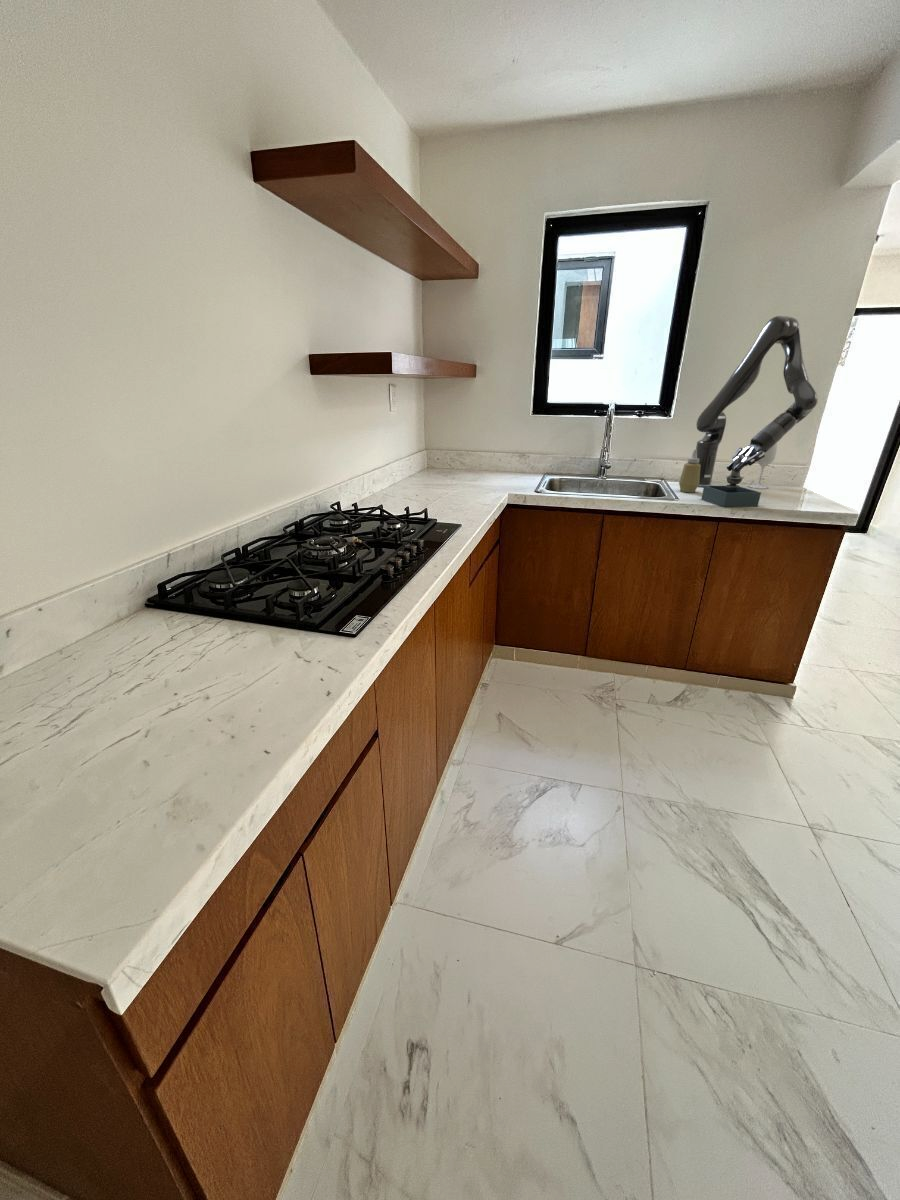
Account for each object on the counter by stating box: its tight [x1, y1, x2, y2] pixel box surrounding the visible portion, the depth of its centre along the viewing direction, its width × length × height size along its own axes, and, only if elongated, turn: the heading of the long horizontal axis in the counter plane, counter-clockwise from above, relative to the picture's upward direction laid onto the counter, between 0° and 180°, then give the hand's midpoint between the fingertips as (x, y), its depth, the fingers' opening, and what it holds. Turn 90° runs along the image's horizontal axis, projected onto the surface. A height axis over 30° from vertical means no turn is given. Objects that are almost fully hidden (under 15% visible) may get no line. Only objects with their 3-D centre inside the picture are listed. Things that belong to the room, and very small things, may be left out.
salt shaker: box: [725, 456, 744, 488], centre depth 196 cm, size 6×6×12 cm
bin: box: [701, 485, 762, 508], centre depth 200 cm, size 15×14×6 cm
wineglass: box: [749, 442, 778, 490], centre depth 230 cm, size 8×8×21 cm
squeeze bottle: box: [678, 449, 701, 494], centre depth 219 cm, size 8×8×18 cm
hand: (731, 470), depth 196 cm, fingers closed on salt shaker, 3 cm apart
